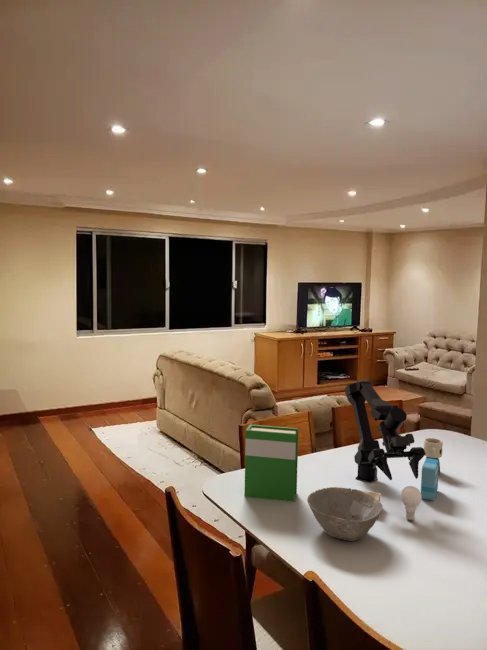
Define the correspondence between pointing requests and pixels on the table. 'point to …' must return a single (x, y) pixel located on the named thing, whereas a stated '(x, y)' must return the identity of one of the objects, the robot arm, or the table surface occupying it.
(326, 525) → the ceramic bowl
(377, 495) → the kraft carton
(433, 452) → the character mug
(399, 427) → the robot arm
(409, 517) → the lightbulb
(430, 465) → the data package
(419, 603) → the table surface
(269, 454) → the hardback book
